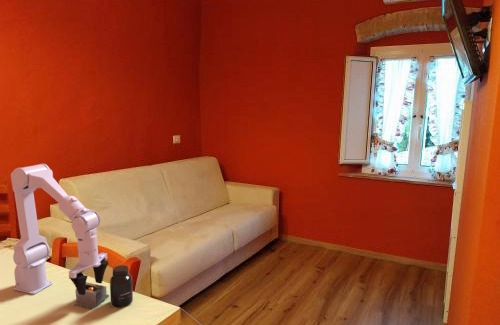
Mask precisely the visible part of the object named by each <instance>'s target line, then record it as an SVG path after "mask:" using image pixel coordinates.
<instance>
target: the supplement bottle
mask: <svg viewBox="0 0 500 325" xmlns="http://www.w3.org/2000/svg"><path fill="white" fill-rule="evenodd" d="M129 270H130V269H129V266H127V265H125V264H120V265H117V266H115V267H113V268H112V276H111V277H110V279H109V288H110V289H109V292H110V295H109V297H110V305H111V306H112V307H113V308H117V309H119V308H120V309H121V308H125V307H128V306H130V305H131V304H132V303H133V301H134V293H133V291H134V290H133V289H134V288H133V275H131V273H130V271H129Z"/></svg>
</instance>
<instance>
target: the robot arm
mask: <svg viewBox="0 0 500 325" xmlns="http://www.w3.org/2000/svg"><path fill="white" fill-rule="evenodd" d="M10 180H11V187H12V191H13V192H14V198H15V205H16V212H17V219H18V227H19V234H20V239H19V240H18V241H17V242H16V244H15V245H13V250H14V251H13V256H12V258H13V262H14V264H15V268H14V281H15V287H14V288H13V290H15V291H18V292H23V293H26V294H31V295H35V294H37V293H39V292H40V291H42V290H44V289H46V288H48V287H50V286H51V285H53V283H54V281H50V280H47V279H48V277H47V269H46V261H47V260H48V259H47V258H48V257H49V255H50V253H51V252H50V250H51V249H50V246H49V244H48V242H47V238H46V237H45V236H42V235H40V232H39V224H38V216H37V208H36V201H35V196H34V192H35V191H36V190H37V189H42V190H43V191H45V192H46V193H47V194H48V195H50V197H51V198H53V200H55V201H56V202H57V203H58V206H57V207H58V209H59V210H60V211H61V212H62V214H64V216H65V217H67V219H68V220H69V221H70V222H72V223H70V225H71V227H72V228H71V229H72V230H73V231H74V235H75V238H76V240H77V253H78V254H77V255H78V263H77V264H76V265H75V266H74V267H73V268H72V269H71V270H69V271H68V279H69V280H70V281H71V282H72V284H73V285H74V287H75V290H76V289H77V291H78V294H80V295H85V292H86V282H87V279H88V275H86V274H85V275H84V273H83V272H85V271H88V270H89V269H90V270H91V269H93V273H94V281H95V284H96V283H97V284H102V283H103V280H104V276H105V272H106V269H107V267H108V265H109V261H108V260H107V259H108V253H107V252H106V253H105V252H100V253H99V248H98V247H99V246H98V232H97V230H98V228H97V227H99V226H100V223H101V218H100V215H99V214H98V212H97V211H95V210H94V209H90V208H87V207H86V206H85V205H84V204H83V203H81V201H80V200H79V199H78V198H77V197H76V196H74V195H68V193H66V191H65V190H64V189H63V188H62V186H60V184H59V183H58V182H57V180H56V179H55V178H54V174H53V170H52V169H51V168H50V167H49V166H48V165H47V164H46V163H39V164H35V165H30V166H24V167H17V168H15V169H13V171H12V172H11V173H10Z"/></svg>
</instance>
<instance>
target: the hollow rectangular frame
mask: <svg viewBox="0 0 500 325" xmlns="http://www.w3.org/2000/svg"><path fill="white" fill-rule="evenodd" d="M90 287H93V291H90V290H89V288H90ZM107 295H108V293H107V286H105V285H102V284H101V285H100V284H98V283H97V284H96V283H92V282H87V281H86V292H85V295H80V294H78V291H77V289H76V288H75V299H76V302H77V301H79V302H84V303H88V304H92V305H97V306H98V305H100V304H101V303H102V302H103V300H104V299H105V300H106V299H108V298H107ZM105 300H104V301H105ZM100 302H101V303H100ZM99 303H100V304H99Z"/></svg>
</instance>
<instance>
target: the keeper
mask: <svg viewBox="0 0 500 325" xmlns="http://www.w3.org/2000/svg"><path fill="white" fill-rule="evenodd" d="M89 290H90V291H93V287H90V288H89ZM109 297H110V295H109V294H107V298H106V299H108V298H109ZM106 299H104V300H103V301H105V300H106ZM103 301H102V302H103ZM102 302H100V303H99V304H98V305H100V304H101V303H102ZM98 305H92V304H88V303H84V302H79V301H76V302H74V303H73V306H74V307H79V308H83V309H87V310H93V309H95V308H96V307H97V306H98Z"/></svg>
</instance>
